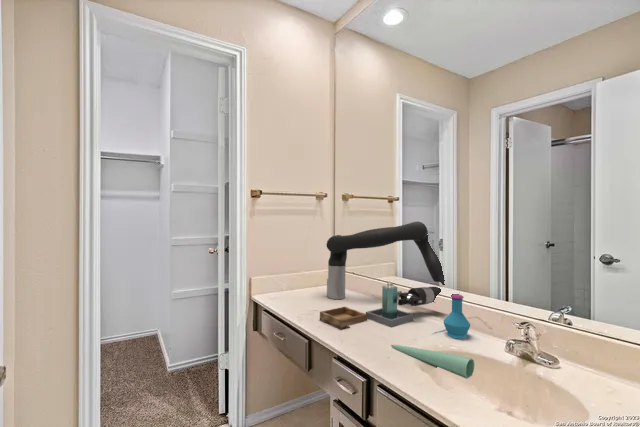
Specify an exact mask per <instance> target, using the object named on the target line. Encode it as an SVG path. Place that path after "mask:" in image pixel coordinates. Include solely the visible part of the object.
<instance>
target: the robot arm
mask: <svg viewBox="0 0 640 427" xmlns="http://www.w3.org/2000/svg"><path fill="white" fill-rule="evenodd" d="M427 234H428V228H427V226H426V225H425V223H423V222H422V221H412V222H410V223H406V224H402V225H397V226H389V227H379V228H372V229H368V230H364V231H360V232H359V231H358V232H356V233H353V234H347V235H342V234H341V235H340V234H335V235H332V236H331V237H329V238H328V239H327V241H326V248H327V250H328V251H329V253H330V254H329V259H328V265H327V266H328V270H327V272H328V273H327V278H326V297H327V298H329V299H330V300H343V299H345V298H346V269H347V268H346V267H347V266H346V262H347V257H348V251H350V250H355V249H356V250H357V249H369V248H370V249H371V248H379V247H380V248H381V247H384V246H389V245H391V244H394V243H397V242H401V241H414V244H415V245H416V246H417V248H418V250H419V251H420V253H421V256H422V258H423V261H424V263H425V264H424V265H426V268H427V270H428V273H429V275H430V277H431V279H432V281H433V282H435V283H440V284H441V286H443V285H445V284H444V281H445V280H444V275H443V271H442V266H441V263H442V262H441V263H440V261H441V260H440V261H439V259H440V258H439V256H438V255H436V254H437V253H436V254H435V252H436V251H435V250H434V251H435V252H434V251H433V249H434V248H433V249H432V248H431V246H430V244H429V242H428V236H429V234H428V235H427ZM437 256H438V257H437ZM438 258H439V259H438ZM438 287H439V286H422V287H413V288H410V289H409V290H408V291H405V292H402V290H401V291H398V290H397V305H399V306H405V305H407V306H409V305H410V306H411V307H417V306H423V305H428V304H433V303H432V302H434V300H435V298H436V296H437V295H438V294H439V293H440V292H441V289H440V288H438ZM434 303H435V302H434Z"/></svg>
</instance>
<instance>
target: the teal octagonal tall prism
mask: <svg viewBox="0 0 640 427" xmlns="http://www.w3.org/2000/svg"><path fill="white" fill-rule="evenodd" d="M397 292H398V286H396V285H394V283H392V282H391V281H389V282H387V283H386V284H385V285H382V291H381V299H382V300H381V301H382V302H381V308H382V317H385V318H388V319H395V318H397V310H398V300H397Z"/></svg>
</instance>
